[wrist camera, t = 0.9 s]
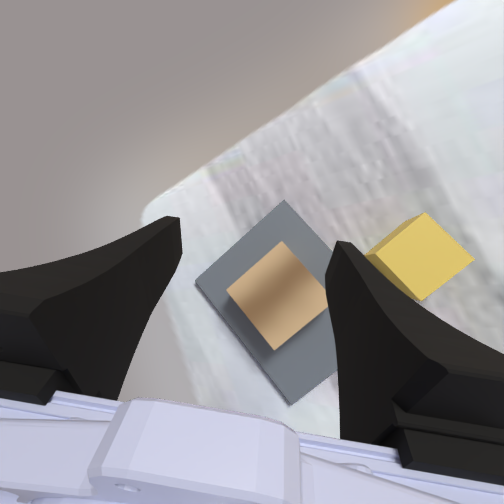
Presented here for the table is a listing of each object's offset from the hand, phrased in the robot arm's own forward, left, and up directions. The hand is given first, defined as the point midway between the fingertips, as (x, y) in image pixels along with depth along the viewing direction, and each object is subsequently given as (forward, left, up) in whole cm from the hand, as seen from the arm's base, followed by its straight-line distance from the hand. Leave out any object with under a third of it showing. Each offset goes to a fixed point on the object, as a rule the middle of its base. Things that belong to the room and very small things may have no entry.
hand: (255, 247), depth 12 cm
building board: (-4, +2, -15) cm, 16 cm away
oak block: (-3, +2, -15) cm, 15 cm away
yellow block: (-8, -9, -16) cm, 19 cm away
